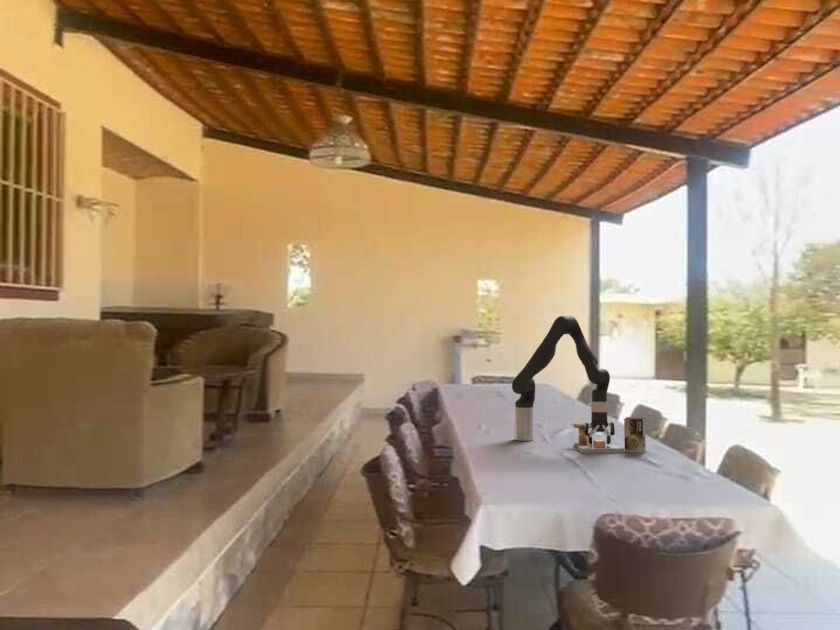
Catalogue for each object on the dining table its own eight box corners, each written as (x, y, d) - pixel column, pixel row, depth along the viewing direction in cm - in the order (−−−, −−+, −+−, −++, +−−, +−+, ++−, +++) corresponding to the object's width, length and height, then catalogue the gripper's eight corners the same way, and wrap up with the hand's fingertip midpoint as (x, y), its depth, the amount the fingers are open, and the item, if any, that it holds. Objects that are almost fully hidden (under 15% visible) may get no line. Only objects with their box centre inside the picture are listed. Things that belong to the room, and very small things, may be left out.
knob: (576, 448, 427) (576, 425, 427) (571, 445, 436) (571, 423, 436) (594, 447, 428) (594, 425, 428) (589, 444, 437) (589, 422, 437)
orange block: (596, 451, 417) (596, 441, 417) (593, 450, 421) (593, 440, 421) (605, 451, 417) (605, 441, 417) (602, 450, 422) (602, 439, 422)
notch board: (583, 453, 412) (583, 449, 412) (577, 450, 422) (577, 445, 422) (624, 452, 414) (624, 448, 414) (617, 449, 424) (617, 445, 424)
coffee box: (646, 451, 417) (645, 417, 417) (643, 453, 412) (643, 419, 411) (626, 450, 421) (626, 416, 421) (624, 452, 415) (623, 418, 415)
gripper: (587, 411, 415) (587, 445, 415) (616, 411, 416) (616, 445, 416) (582, 410, 422) (582, 443, 422) (611, 409, 424) (611, 442, 424)
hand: (599, 444), depth 419 cm, fingers open, 8 cm apart
